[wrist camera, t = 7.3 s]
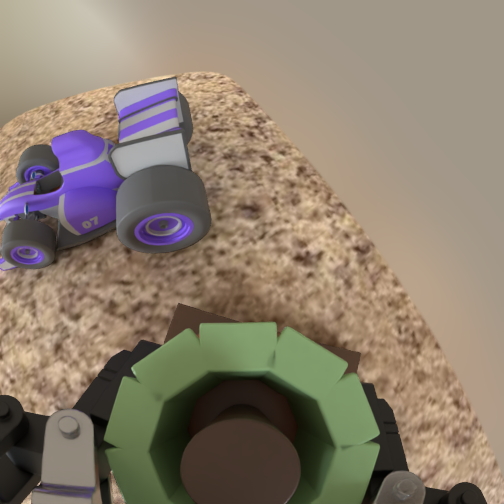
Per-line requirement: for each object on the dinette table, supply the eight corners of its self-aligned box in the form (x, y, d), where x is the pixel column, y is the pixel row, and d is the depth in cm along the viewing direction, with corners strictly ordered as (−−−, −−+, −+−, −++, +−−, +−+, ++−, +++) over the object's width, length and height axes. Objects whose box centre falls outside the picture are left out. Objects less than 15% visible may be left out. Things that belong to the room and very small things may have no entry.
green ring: (341, 370, 11) (402, 351, 7) (297, 515, 8) (328, 578, 4) (189, 329, 12) (155, 285, 7) (143, 473, 9) (84, 512, 4)
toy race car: (18, 181, 20) (-21, 127, 14) (192, 131, 22) (182, 56, 16) (2, 292, 16) (-61, 249, 10) (215, 244, 18) (203, 168, 12)
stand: (351, 356, 15) (488, 290, 6) (304, 515, 11) (379, 634, 2) (183, 310, 16) (107, 186, 6) (132, 466, 12) (-2, 529, 3)
